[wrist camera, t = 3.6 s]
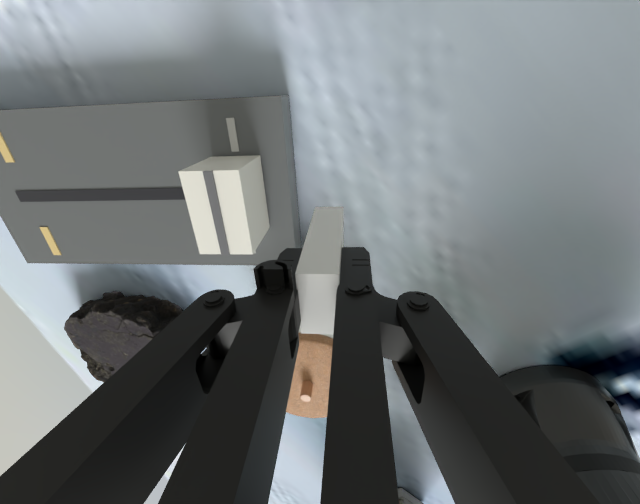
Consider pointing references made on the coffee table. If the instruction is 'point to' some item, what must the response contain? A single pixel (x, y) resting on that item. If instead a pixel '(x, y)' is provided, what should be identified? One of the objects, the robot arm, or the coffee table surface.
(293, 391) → the lidded jar
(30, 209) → the fader console
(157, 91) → the coffee table surface
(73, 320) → the rock sample
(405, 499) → the cassette tape recorder
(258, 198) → the fader knob
